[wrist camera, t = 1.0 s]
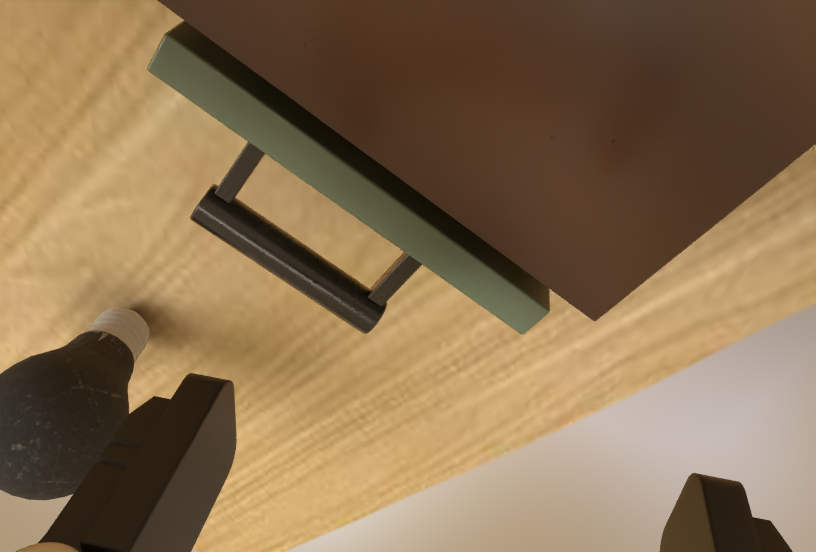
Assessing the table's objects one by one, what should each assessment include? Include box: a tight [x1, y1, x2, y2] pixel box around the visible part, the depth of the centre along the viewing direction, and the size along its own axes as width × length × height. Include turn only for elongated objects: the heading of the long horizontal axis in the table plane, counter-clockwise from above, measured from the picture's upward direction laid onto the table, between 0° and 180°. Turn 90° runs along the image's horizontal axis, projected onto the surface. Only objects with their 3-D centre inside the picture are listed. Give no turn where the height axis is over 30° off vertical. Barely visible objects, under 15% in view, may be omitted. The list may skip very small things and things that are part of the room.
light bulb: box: [0, 307, 150, 500], centre depth 31 cm, size 6×6×10 cm
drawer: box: [147, 20, 550, 334], centre depth 21 cm, size 18×12×8 cm
